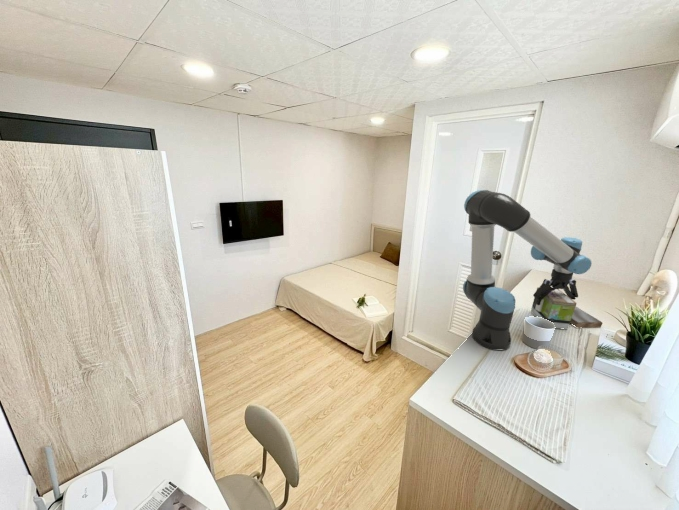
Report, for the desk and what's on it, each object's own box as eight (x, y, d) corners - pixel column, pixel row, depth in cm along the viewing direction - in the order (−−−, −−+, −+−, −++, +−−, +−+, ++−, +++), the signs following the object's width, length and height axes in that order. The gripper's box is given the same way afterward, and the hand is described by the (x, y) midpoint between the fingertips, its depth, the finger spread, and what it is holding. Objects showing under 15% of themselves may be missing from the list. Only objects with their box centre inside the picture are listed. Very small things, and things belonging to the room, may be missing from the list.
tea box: (568, 330, 123) (577, 302, 118) (544, 328, 124) (552, 301, 119) (551, 313, 136) (558, 288, 131) (529, 311, 138) (536, 286, 133)
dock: (575, 328, 124) (577, 322, 123) (548, 309, 140) (549, 304, 139) (600, 327, 124) (602, 322, 123) (570, 308, 140) (571, 303, 139)
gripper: (582, 266, 125) (569, 305, 132) (530, 268, 125) (521, 306, 132) (596, 272, 118) (583, 313, 125) (542, 274, 118) (531, 314, 125)
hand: (551, 309), depth 128 cm, fingers open, 13 cm apart
